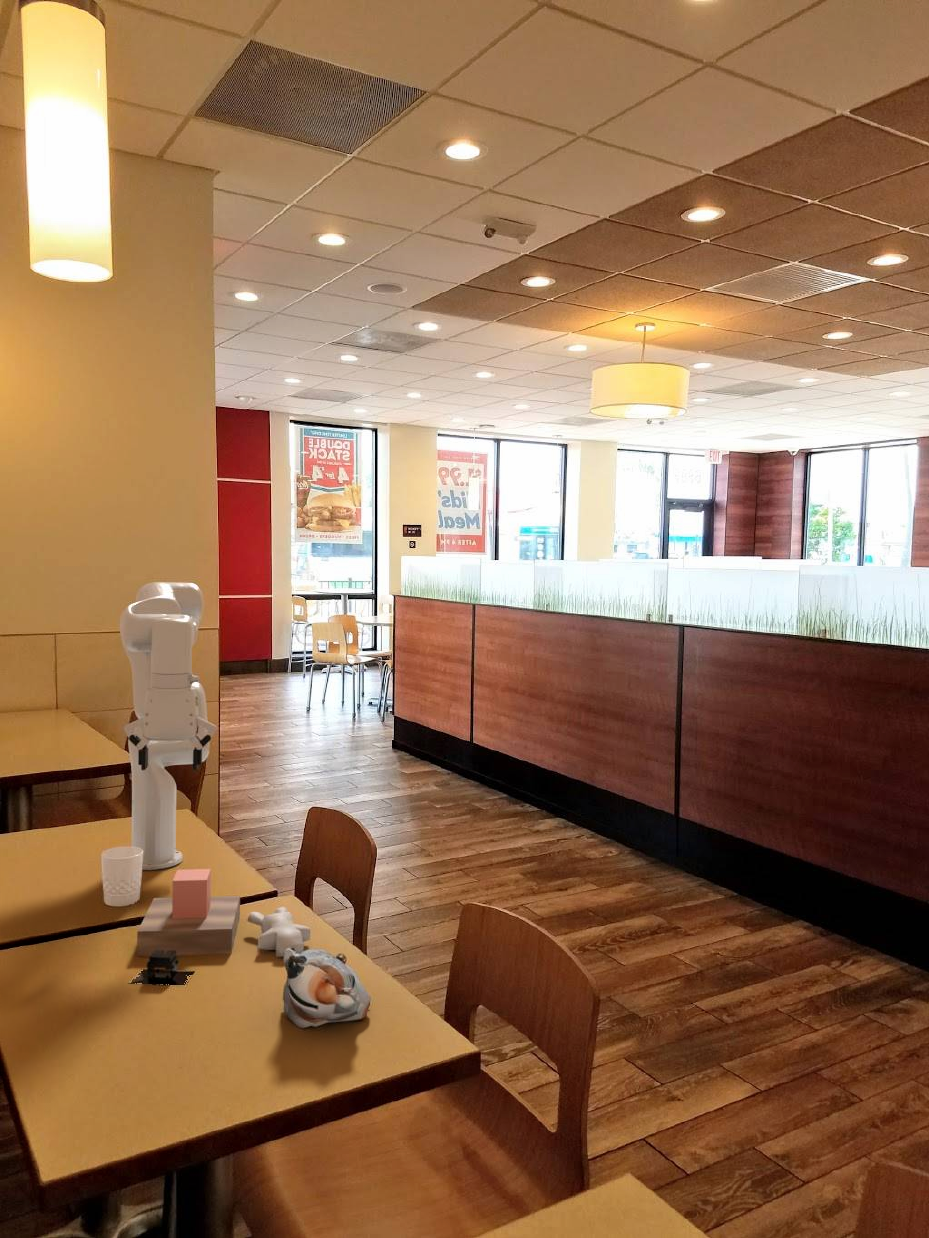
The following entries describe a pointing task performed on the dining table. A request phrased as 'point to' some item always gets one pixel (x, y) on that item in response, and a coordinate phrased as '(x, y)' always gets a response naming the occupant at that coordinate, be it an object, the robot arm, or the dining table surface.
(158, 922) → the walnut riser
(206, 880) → the red block
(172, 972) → the black boxy gadget
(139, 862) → the white cup
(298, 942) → the bunny figurine
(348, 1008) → the lucky cat figurine
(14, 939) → the dining table surface
